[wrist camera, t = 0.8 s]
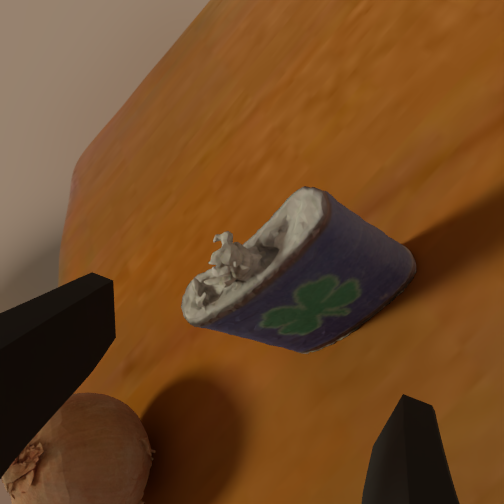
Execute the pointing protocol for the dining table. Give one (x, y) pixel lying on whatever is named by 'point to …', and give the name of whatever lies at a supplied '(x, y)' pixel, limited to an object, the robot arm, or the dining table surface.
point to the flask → (300, 276)
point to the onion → (84, 456)
